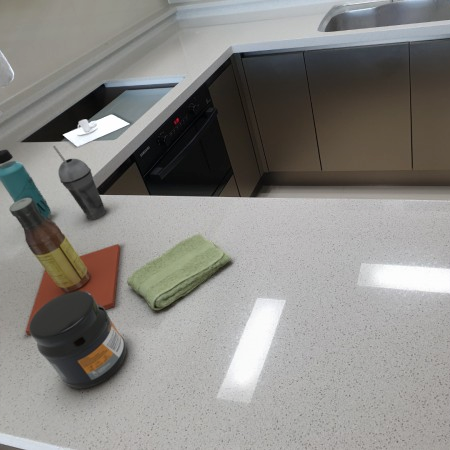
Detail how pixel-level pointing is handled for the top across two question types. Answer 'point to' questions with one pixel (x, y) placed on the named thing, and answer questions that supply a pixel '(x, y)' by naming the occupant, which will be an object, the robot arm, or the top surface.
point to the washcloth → (177, 271)
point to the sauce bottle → (50, 246)
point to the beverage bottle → (20, 183)
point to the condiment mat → (97, 284)
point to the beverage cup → (81, 186)
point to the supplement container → (78, 339)
